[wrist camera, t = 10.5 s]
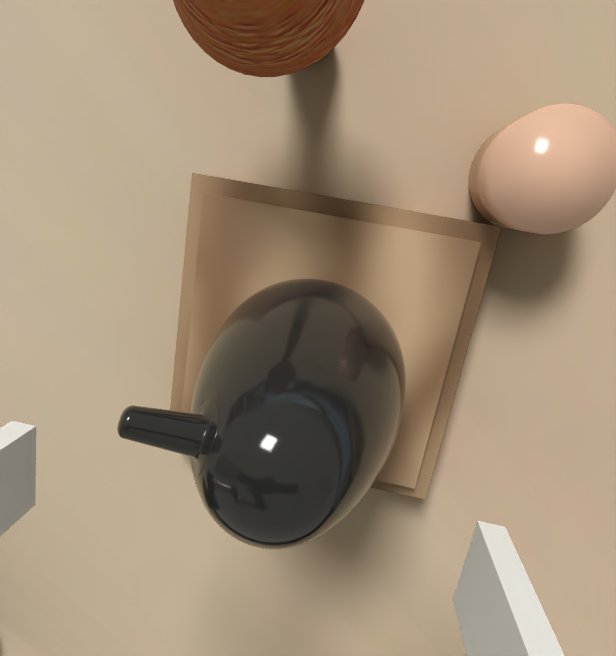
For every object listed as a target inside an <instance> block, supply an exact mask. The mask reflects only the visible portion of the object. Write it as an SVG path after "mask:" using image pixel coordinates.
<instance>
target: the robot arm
mask: <svg viewBox="0 0 616 656" xmlns="http://www.w3.org/2000/svg"><path fill="white" fill-rule="evenodd" d="M35 475H36V426H33V425H28V424H24V423H19V422H14V421H11V422H9V423H8V424H6V425H4V426H3V427H1V428H0V536H1V535H2V534H3V533H4V532H6V531H7V530H8V529H9V528H10V527H11V526H12V525H13V524H14V523H15V522H17V521H18V520H19V519H20V518H21V517H22V516H23V515H24V514H25V513H26V512H28V511H29V510H30V509H31V508H32V507H33V506H34V505H35ZM453 601H454V606H455V610H456V614H457V618H458V622H459V626H460V630H461V635H462V639H463V643H464V647H465V651H466V655H467V656H564V654H563V652H562V649H561V647H560V645H559V643H558V641H557V639H556V636H555V634H554V632H553V630H552V628H551V626H550V623H549V621H548V619H547V617H546V615H545V612H544V610H543V608H542V606H541V604H540V602H539V599H538V597H537V595H536V593H535V591H534V589H533V586H532V584H531V582H530V580H529V578H528V576H527V573H526V571H525V569H524V567H523V565H522V563H521V560H520V558H519V556H518V554H517V552H516V550H515V547H514V545H513V543H512V541H511V539H510V536H509V534H508V532H507V530H506V528H505V527H504V526H499V525H494V524H490V523H485V522H480V521H477V524H476V527H475V531H474V534H473V537H472V540H471V543H470V546H469V549H468V553H467V556H466V559H465V562H464V565H463V568H462V572H461V575H460V578H459V581H458V584H457V587H456V590H455V594H454V597H453Z"/></svg>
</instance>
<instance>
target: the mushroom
mask: <svg viewBox="0 0 616 656" xmlns="http://www.w3.org/2000/svg"><path fill="white" fill-rule="evenodd" d="M173 1H174V4H175V7H176V10H177V12H178V14H179V16H180V18H181V20H182V22H183V24H184V26H185V28H186V29H187V31H188V32H189V34H190V35H191V37H192V38H193V40H194V41H195V42H196V43H197V44H198V45H199V46H200V47H201V48H202V49H203V50H204V52H206V53H207V54H208V55H209V56H211V57H212V58H213V59H214V60H216V61H217V62H218V63H220V64H222V65H224V66H226V67H227V68H229V69H231V70H234V71H237V72H240V73H242V74H245V75H251V76H257V77H277V76H282V75H287V74H291V73H294V72H297V71H299V70H302V69H304V68H307V67H308V66H310V65H312V64H313V63H315V62H316V63H317V62H318V60H323V57H324V56H327V55H328V54H329V52H330V51H331V50H332V49H333V48H334V47H335V46H336V45H337V44H338V43H339V41H340V40H341V39H342V38H343V37H344V36H345V35H346V33H347V32H348V30H349V29H350V27H351V26H352V24H353V22H354V21H355V19H356V17H357V15H358V13H359V11H360V9H361V7H362V5H363V3H364V0H173Z"/></svg>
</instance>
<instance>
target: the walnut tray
mask: <svg viewBox="0 0 616 656" xmlns="http://www.w3.org/2000/svg"><path fill="white" fill-rule="evenodd" d="M500 231H501V227H498V226H493V225H487V224H481V223H476V222H470V221H464V220H458V219H453V218H447V217H441V216H436V215H430V214H424V213H418V212H413V211H407V210H401V209H395V208H390V207H384V206H378V205H373V204H367V203H361V202H355V201H350V200H344V199H338V198H333V197H327V196H321V195H315V194H310V193H304V192H298V191H292V190H287V189H281V188H275V187H270V186H264V185H258V184H252V183H247V182H241V181H235V180H230V179H224V178H218V177H212V176H207V175H201V174H195V173H192V181H191V192H190V203H189V214H188V225H187V235H186V246H185V257H184V268H183V279H182V289H181V300H180V311H179V322H178V332H177V343H176V354H175V365H174V376H173V386H172V397H171V408H170V411H177V412H185V413H190V410H191V403H192V397H193V392H194V387H195V383H196V380H197V376H198V373H199V370H200V367H201V364H202V362H203V359H204V357H205V355H206V353H207V351H208V349H209V347H210V345H211V343H212V341H213V339H214V338H215V336H216V334H217V333H218V331H219V329H220V328H221V326H222V325H223V323H224V322H225V321H226V319H227V318H228V317H229V316H230V314H231V313H232V312H233V311H234V310H235V309H236V308H237V307H238V306H239V305H240V304H241V303H243V302H244V301H245V300H246V299H247V298H249V297H250V296H252V295H253V294H255V293H256V292H258V291H260V290H262V289H263V288H266V287H268V286H270V285H273V284H276V283H279V282H283V281H287V280H293V279H319V280H325V281H330V282H333V283H337V284H340V285H342V286H345V287H347V288H349V289H351V290H353V291H355V292H357V293H359V294H360V295H362V296H363V297H365V298H366V299H367V300H369V301H370V302H371V303H372V304H373V305H374V306H375V307H376V308H377V309H378V310H379V311H380V312H381V313H382V314H383V315H384V317H385V318H386V319H387V321H388V322H389V324H390V325H391V327H392V328H393V330H394V332H395V334H396V336H397V339H398V341H399V344H400V347H401V350H402V354H403V359H404V364H405V374H406V388H405V398H404V406H403V412H402V418H401V422H400V426H399V430H398V434H397V437H396V440H395V442H394V445H393V448H392V450H391V452H390V455H389V457H388V459H387V461H386V463H385V465H384V467H383V468H382V470H381V472H380V474H379V475H378V477H377V478H376V480H375V481H374V483H373V484H372V486H371V487H372V488H376V489H381V490H385V491H390V492H394V493H399V494H403V495H408V496H412V497H417V498H421V499H426V495H427V491H428V488H429V484H430V481H431V477H432V474H433V470H434V466H435V463H436V459H437V456H438V452H439V449H440V445H441V442H442V438H443V434H444V431H445V427H446V424H447V420H448V417H449V413H450V409H451V406H452V402H453V399H454V395H455V392H456V388H457V384H458V381H459V377H460V374H461V370H462V367H463V363H464V359H465V356H466V352H467V349H468V345H469V342H470V338H471V334H472V331H473V327H474V324H475V320H476V317H477V313H478V309H479V306H480V302H481V299H482V295H483V292H484V288H485V284H486V281H487V277H488V274H489V270H490V267H491V263H492V259H493V256H494V252H495V249H496V245H497V242H498V238H499V234H500Z"/></svg>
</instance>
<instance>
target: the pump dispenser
mask: <svg viewBox="0 0 616 656" xmlns="http://www.w3.org/2000/svg"><path fill="white" fill-rule="evenodd" d="M405 388H406V374H405V364H404V359H403V354H402V350H401V347H400V344H399V341H398V339H397V336H396V334H395V332H394V330H393V328H392V327H391V325H390V324H389V322H388V321H387V319H386V318H385V317H384V315H383V314H382V313H381V312H380V311H379V310H378V309H377V308H376V307H375V306H374V305H373V304H372V303H371V302H370V301H369V300H367V299H366V298H365V297H363V296H362V295H360V294H359V293H357V292H355V291H353V290H351V289H349V288H347V287H345V286H342V285H340V284H337V283H333V282H330V281H325V280H319V279H293V280H287V281H283V282H279V283H276V284H273V285H270V286H268V287H266V288H263V289H262V290H260V291H258V292H256V293H255V294H253V295H252V296H250V297H249V298H247V299H246V300H245V301H244V302H243V303H241V304H240V305H239V306H238V307H237V308H236V309H235V310H234V311H233V312H232V313H231V314H230V316H229V317H228V318H227V319H226V321H225V322H224V323H223V325H222V326H221V328H220V329H219V331H218V333H217V334H216V336H215V338H214V339H213V341H212V343H211V345H210V347H209V349H208V351H207V353H206V355H205V357H204V359H203V362H202V364H201V367H200V370H199V373H198V376H197V380H196V383H195V387H194V392H193V397H192V403H191V410H190V413H185V412H177V411H170V410H163V409H155V408H148V407H141V406H129V407H127V408H126V409H125V410H124V411H123V412H122V414H121V417H120V420H119V423H118V428H117V430H118V434H119V436H120V437H121V438H124V439H128V440H131V441H135V442H139V443H142V444H146V445H150V446H154V447H157V448H161V449H165V450H169V451H172V452H176V453H180V454H183V455H187V456H190V460H191V467H192V472H193V476H194V480H195V484H196V487H197V490H198V492H199V495H200V497H201V499H202V502H203V504H204V506H205V507H206V509H207V511H208V512H209V514H210V515H211V517H212V518H213V519H214V521H215V522H216V523H217V524H218V525H219V526H220V527H221V528H222V529H223V530H224V531H226V532H227V533H228V534H229V535H231V536H232V537H234V538H236V539H237V540H239V541H241V542H244V543H246V544H248V545H251V546H255V547H259V548H265V549H286V548H292V547H296V546H299V545H302V544H305V543H307V542H310V541H312V540H314V539H316V538H318V537H319V536H321V535H323V534H324V533H326V532H327V531H329V530H330V529H332V528H333V527H334V526H335V525H337V524H338V523H339V522H340V521H341V520H342V519H344V518H345V517H346V516H347V515H348V514H349V513H350V512H351V511H352V510H353V508H354V507H355V506H356V505H357V504H358V503H359V502H360V500H361V499H362V498H363V497H364V495H365V494H366V493H367V491H368V490H369V489H370V487H371V486H372V484H373V483H374V481H375V480H376V478H377V477H378V475H379V474H380V472H381V470H382V468H383V467H384V465H385V463H386V461H387V459H388V457H389V455H390V452H391V450H392V448H393V445H394V442H395V440H396V437H397V434H398V430H399V426H400V422H401V418H402V412H403V406H404V398H405Z"/></svg>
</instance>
